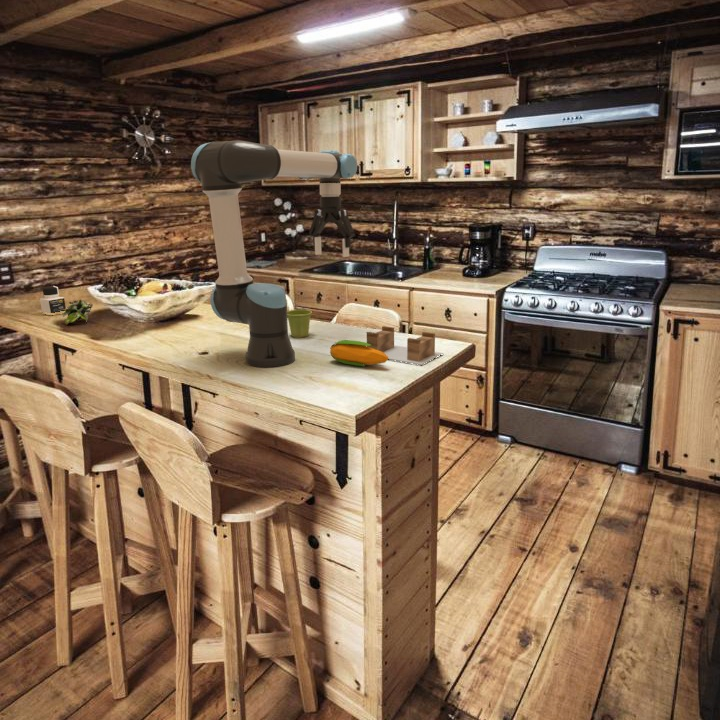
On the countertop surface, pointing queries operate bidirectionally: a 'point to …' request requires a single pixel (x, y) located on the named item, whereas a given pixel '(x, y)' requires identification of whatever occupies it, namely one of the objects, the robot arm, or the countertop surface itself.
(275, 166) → the robot arm
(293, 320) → the plant pot
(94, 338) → the countertop surface
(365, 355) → the corn
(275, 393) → the countertop surface
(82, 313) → the leafy green plant
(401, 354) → the mat
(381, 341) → the wooden brackets on board
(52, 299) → the medicine bottle
